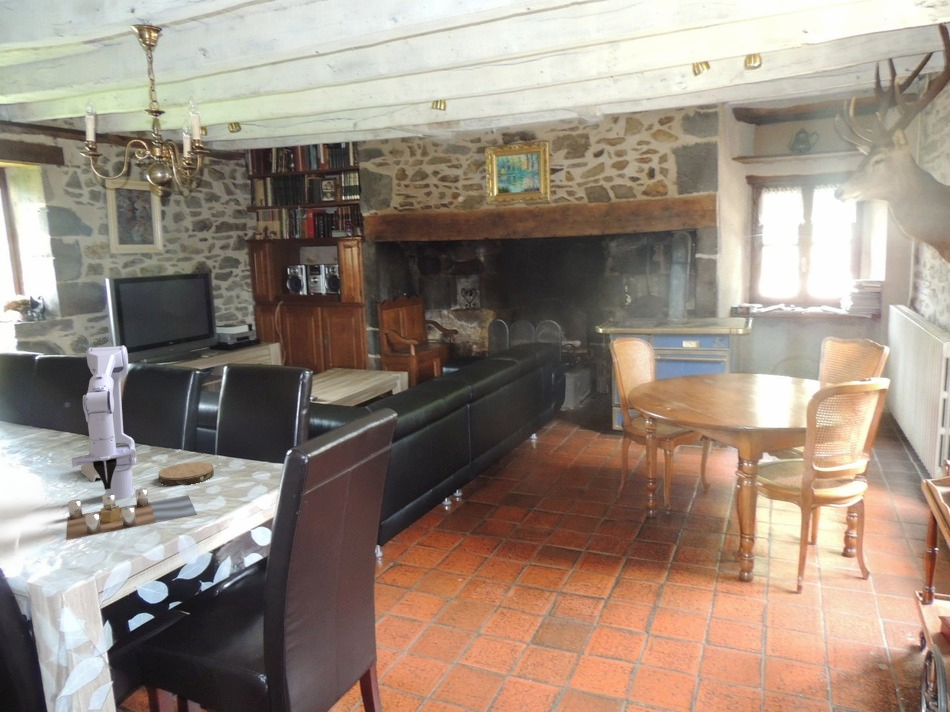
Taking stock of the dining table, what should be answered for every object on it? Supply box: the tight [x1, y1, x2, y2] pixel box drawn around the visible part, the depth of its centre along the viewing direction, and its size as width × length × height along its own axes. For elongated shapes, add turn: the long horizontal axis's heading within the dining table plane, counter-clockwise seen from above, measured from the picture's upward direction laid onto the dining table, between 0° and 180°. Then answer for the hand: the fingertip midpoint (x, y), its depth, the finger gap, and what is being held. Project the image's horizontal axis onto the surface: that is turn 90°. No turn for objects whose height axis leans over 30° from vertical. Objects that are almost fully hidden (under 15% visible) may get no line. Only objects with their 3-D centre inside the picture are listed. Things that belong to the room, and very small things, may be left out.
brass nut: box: [99, 505, 120, 523], centre depth 179 cm, size 5×4×3 cm
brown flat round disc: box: [158, 461, 215, 487], centre depth 214 cm, size 16×16×3 cm
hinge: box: [79, 448, 101, 483], centre depth 221 cm, size 17×5×10 cm, turn 43°
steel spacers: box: [67, 487, 150, 535], centre depth 178 cm, size 17×19×4 cm
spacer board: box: [65, 494, 198, 541], centre depth 181 cm, size 18×30×1 cm, turn 120°
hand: (107, 488), depth 177 cm, fingers closed
